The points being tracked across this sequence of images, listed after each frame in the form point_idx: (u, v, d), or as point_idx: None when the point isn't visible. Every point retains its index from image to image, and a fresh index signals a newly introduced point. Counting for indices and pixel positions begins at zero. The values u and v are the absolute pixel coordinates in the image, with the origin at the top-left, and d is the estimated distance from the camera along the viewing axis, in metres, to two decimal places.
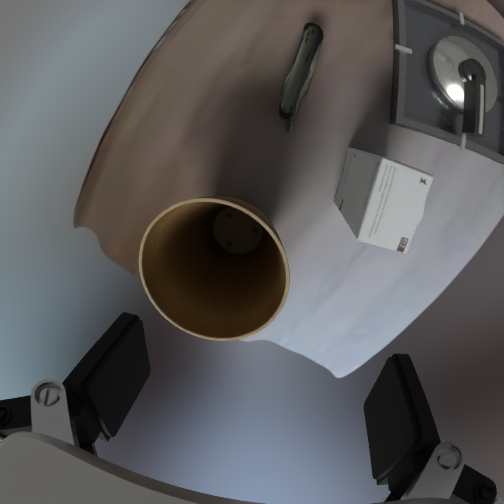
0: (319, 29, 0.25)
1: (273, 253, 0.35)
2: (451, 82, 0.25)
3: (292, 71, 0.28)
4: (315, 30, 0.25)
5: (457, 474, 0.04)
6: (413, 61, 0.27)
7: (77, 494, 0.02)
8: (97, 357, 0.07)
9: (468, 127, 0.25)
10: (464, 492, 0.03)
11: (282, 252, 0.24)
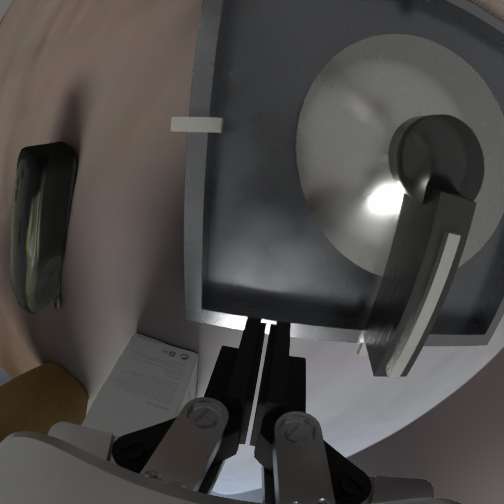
0: (31, 166, 0.12)
1: None
2: (354, 205, 0.12)
3: (10, 256, 0.14)
4: (25, 170, 0.12)
5: (321, 439, 0.06)
6: (247, 142, 0.13)
7: (77, 494, 0.02)
8: (248, 365, 0.08)
9: (373, 343, 0.12)
10: None
11: None
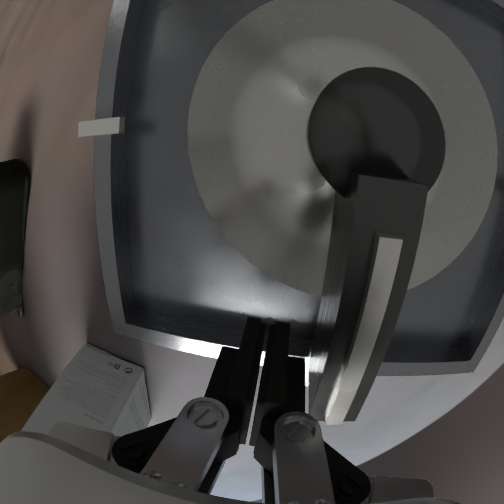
0: None
1: None
2: (267, 209, 0.10)
3: None
4: None
5: (320, 439, 0.06)
6: (158, 141, 0.12)
7: (77, 494, 0.02)
8: (249, 365, 0.08)
9: (311, 379, 0.10)
10: None
11: None
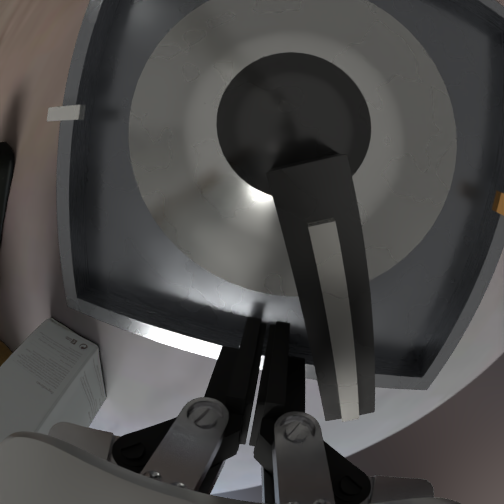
0: None
1: None
2: (226, 229, 0.10)
3: None
4: None
5: (320, 439, 0.06)
6: (115, 128, 0.11)
7: (77, 494, 0.02)
8: (249, 365, 0.08)
9: None
10: None
11: None
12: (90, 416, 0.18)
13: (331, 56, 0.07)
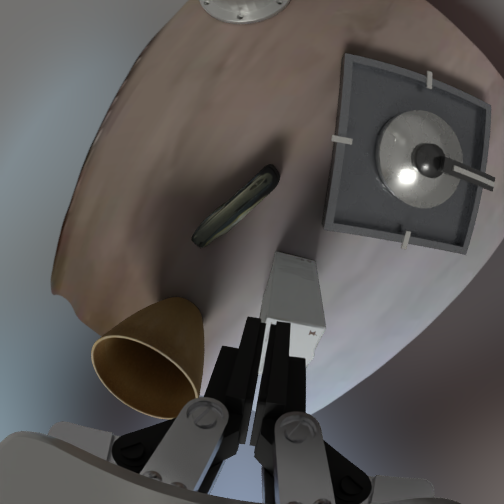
0: (274, 181, 0.31)
1: None
2: (438, 190, 0.28)
3: (219, 212, 0.33)
4: (269, 180, 0.31)
5: (320, 439, 0.06)
6: (356, 149, 0.31)
7: (77, 494, 0.02)
8: (248, 365, 0.08)
9: None
10: None
11: (188, 377, 0.28)
12: None
13: (412, 139, 0.27)
